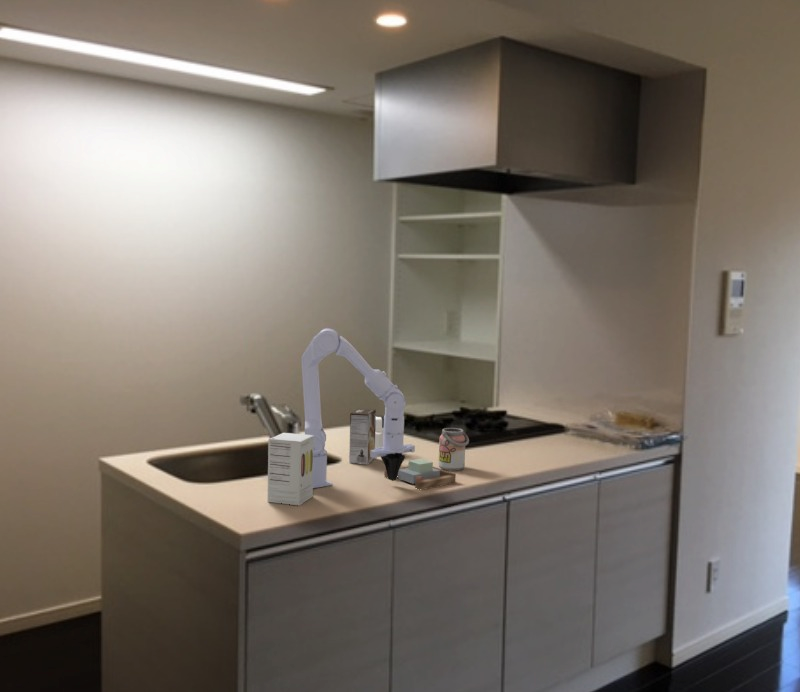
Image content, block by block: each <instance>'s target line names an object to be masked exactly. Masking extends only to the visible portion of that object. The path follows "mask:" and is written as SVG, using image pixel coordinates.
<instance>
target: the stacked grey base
mask: <svg viewBox="0 0 800 692" xmlns="http://www.w3.org/2000/svg"><path fill="white" fill-rule="evenodd" d="M433 463H434V462H433V461H431V460H427V459H424V458H417V459H412V460H408V466H407V467H408V468H407V469H401V470H399V471H398V477H397V479H399V480H402V481H403V482H407V483H409V484H412V485H415V481H416V476H422V477H423V480H426V479H431V478H436V477H440V470H437V469H434V468H433V467H434V464H433Z"/></svg>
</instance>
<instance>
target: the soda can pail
mask: <svg viewBox="0 0 800 692" xmlns="http://www.w3.org/2000/svg"><path fill="white" fill-rule="evenodd" d="M469 442H470V439H469V436H468V435H467V434H466V433H465V432H464V429H463V428H458V427H457V428H456V427H446V428H445V427H444V428H442V430H441V435H440V436H439V443H438V467H439V469H441V468H442V470H443V469H445V471H449V470H451V471H450V472H452V471H456V472H457V470H458V471H462V470H463V469H464V468H465V463H466V462H465V460H466V446H467V445H469Z"/></svg>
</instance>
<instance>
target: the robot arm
mask: <svg viewBox="0 0 800 692" xmlns="http://www.w3.org/2000/svg"><path fill="white" fill-rule="evenodd" d="M334 352H335V356H339V357H344V358H345V359H346V360H347V361H348V362H349V363H350V364H351V365H352V366H353V367H355V369H356V370H357V371H359V373H360V374H361V375H362V376H363V377H364V384H365V386H366V387H367V388H368V389H369V390H370V391H371V392H372V393H373V394H374V395H375V396H376V397H377V398H378V400H380V401H383V404H384V406H385V407H384V415H383V416H384V432H383V447H381V448H377V449H374V450H371V453H370V457H372V458H374V459H377V458H380V459H381V460H382V462H383V465H384V467H385V468H386V471H387V476H388V478H387V479H388V481H389V480H390V481H392V482H393V481H396V480H397V479H398V477H397V475H398V471H399V469H400V468H401V466H402V464H403V462H404V460H406V455H405V454H406V453H415V451H416V446H415V444H410V443H409V444H404V435H405V434H404V433H405V416H404V415H405V410H404V409H405V407H406V405H407V403H406V398H405V396H404V394H403V392H402V390H400V389H398V387H399V386H398V385H397V384H393V382H392V381H391V380H390V379H389V378H388V377H387V375H388V374H387V373H386V372H385V370H383V371H381V369H374V368H372V366H371V365H370V364H369V363H368V362H367V361H366V360H365V359H364V357H363V356H362V355H361V354H360V352H358V351H357V349H356V348H355V347H354V345H352V344H351V343H350V342H349V341H348V340H347V339H346V338H345V337H344V336H342V335H339V332H337V331H336V330H335V329H333V328H329V327H326V328H323V329H322V330H320V331H319V332H317V334H315V335H314V336H313V338H312V340H310V343H309V345H308V346H307V348H306V349H305V350H304V352H303V354H302V356H301V373H302V392H303V411H304V434H305V435H313V436H314V451H313V489H317V488H322V487H328V486H332V485H333V482H331V481H328V480H327V474H328V473H327V467H328V466H327V465H328V461H327V460H328V451H327V450H326V449H325V447H326V441H327V434H326V432H325V430H324V428H323V422H322V421H323V420H322V411H321V410H322V407H321V405H322V404H321V392H320V391H321V389H320V373H319V372H320V371H319V363H321V361H323V359H324V358H325V357H327V356H328V355H330V354H332V353H334ZM385 468H384V469H385Z"/></svg>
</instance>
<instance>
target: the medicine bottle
mask: <svg viewBox="0 0 800 692" xmlns="http://www.w3.org/2000/svg"><path fill="white" fill-rule="evenodd" d="M384 416H385V415H376V426H375V449H377V448H381V447H383V432H384Z"/></svg>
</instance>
